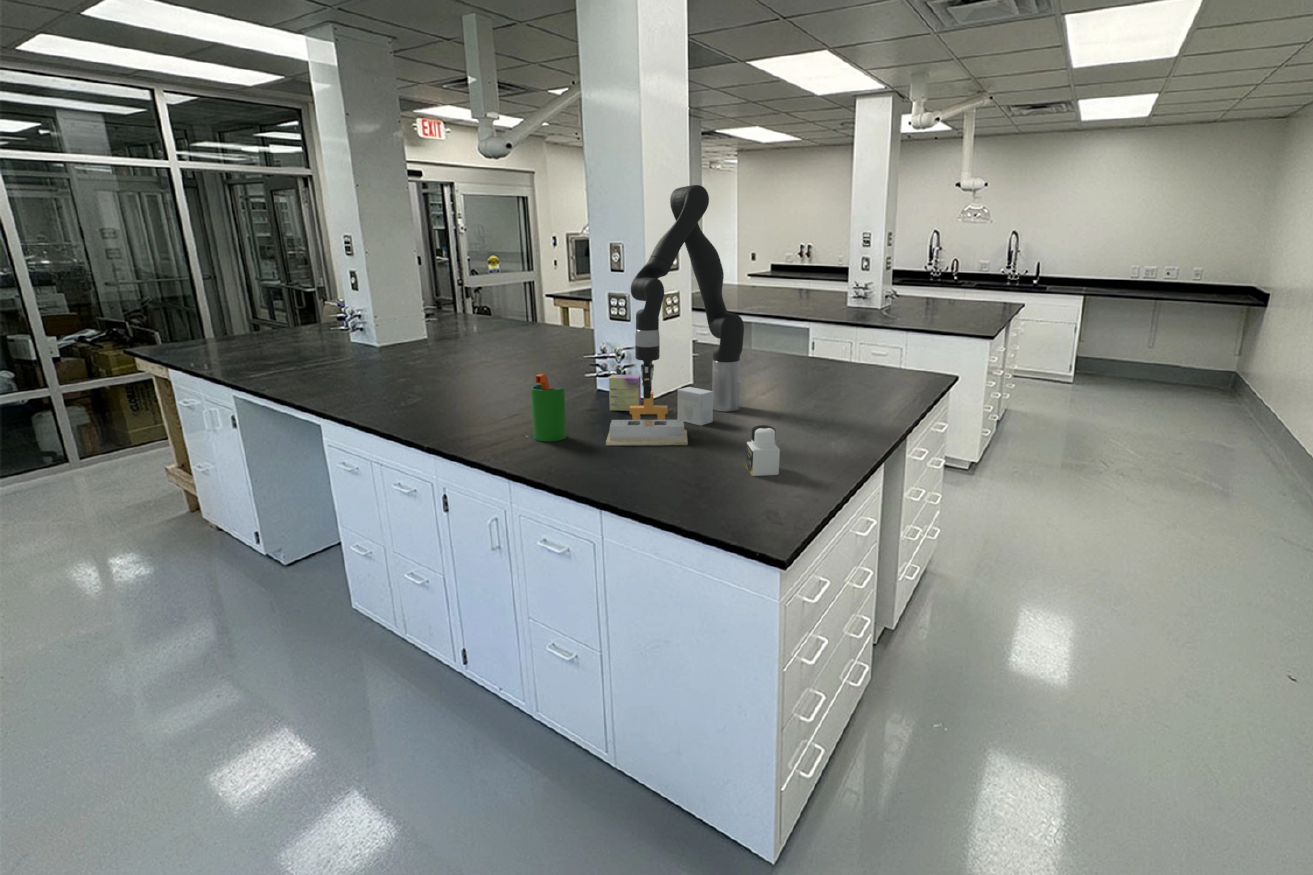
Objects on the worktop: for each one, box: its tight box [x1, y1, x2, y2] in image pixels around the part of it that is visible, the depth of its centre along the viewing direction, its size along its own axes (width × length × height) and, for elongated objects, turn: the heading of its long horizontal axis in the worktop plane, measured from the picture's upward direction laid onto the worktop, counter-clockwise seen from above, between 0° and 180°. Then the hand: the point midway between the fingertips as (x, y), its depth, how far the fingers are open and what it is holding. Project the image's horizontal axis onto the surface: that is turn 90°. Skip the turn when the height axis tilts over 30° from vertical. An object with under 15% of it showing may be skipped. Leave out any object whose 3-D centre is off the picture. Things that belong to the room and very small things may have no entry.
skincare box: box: [676, 386, 714, 427], centre depth 213 cm, size 10×6×10 cm, turn 47°
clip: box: [629, 391, 669, 420], centre depth 208 cm, size 12×3×11 cm, turn 89°
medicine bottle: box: [745, 424, 781, 477], centre depth 169 cm, size 7×7×12 cm
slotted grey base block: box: [605, 419, 689, 446], centre depth 196 cm, size 24×12×5 cm, turn 89°
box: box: [608, 374, 642, 412], centre depth 228 cm, size 10×6×12 cm, turn 84°
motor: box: [530, 373, 567, 442], centre depth 197 cm, size 10×9×20 cm
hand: (647, 394), depth 206 cm, fingers open, 8 cm apart
